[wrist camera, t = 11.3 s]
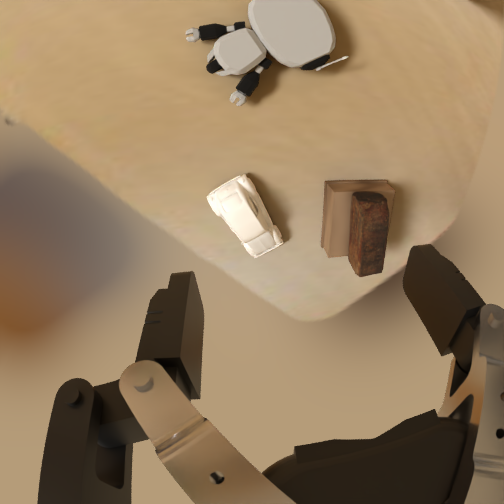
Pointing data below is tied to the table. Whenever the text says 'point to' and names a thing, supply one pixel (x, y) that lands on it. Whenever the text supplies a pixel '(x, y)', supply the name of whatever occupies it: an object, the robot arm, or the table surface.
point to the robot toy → (269, 41)
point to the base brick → (346, 211)
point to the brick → (368, 232)
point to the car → (245, 215)
